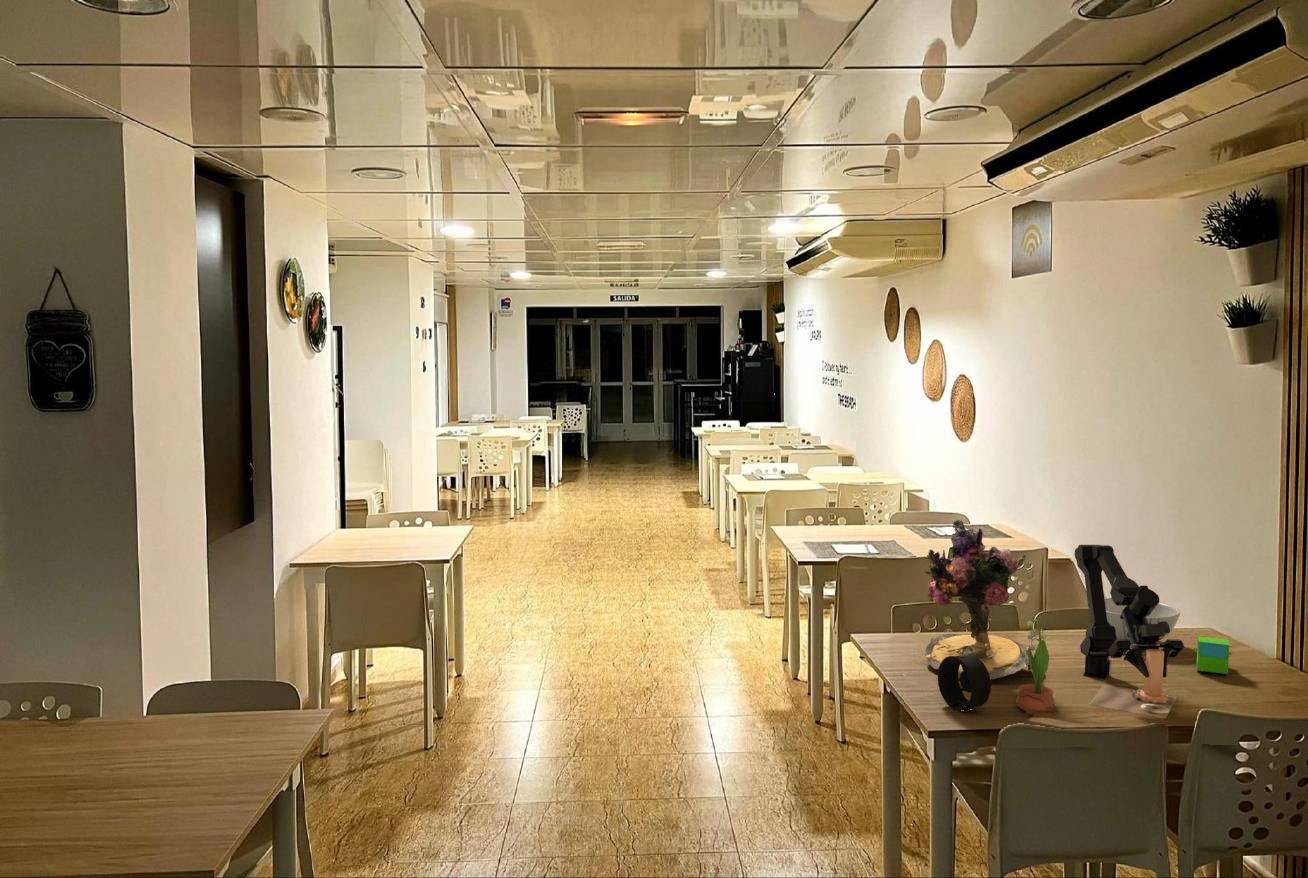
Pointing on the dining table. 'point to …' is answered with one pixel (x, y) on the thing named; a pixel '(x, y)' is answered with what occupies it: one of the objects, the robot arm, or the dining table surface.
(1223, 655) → the blue-striped green cube
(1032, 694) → the potted flower
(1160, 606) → the decorative bowl
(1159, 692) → the gear spool
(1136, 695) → the gear
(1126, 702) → the gear board
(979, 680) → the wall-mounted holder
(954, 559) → the bouquet
